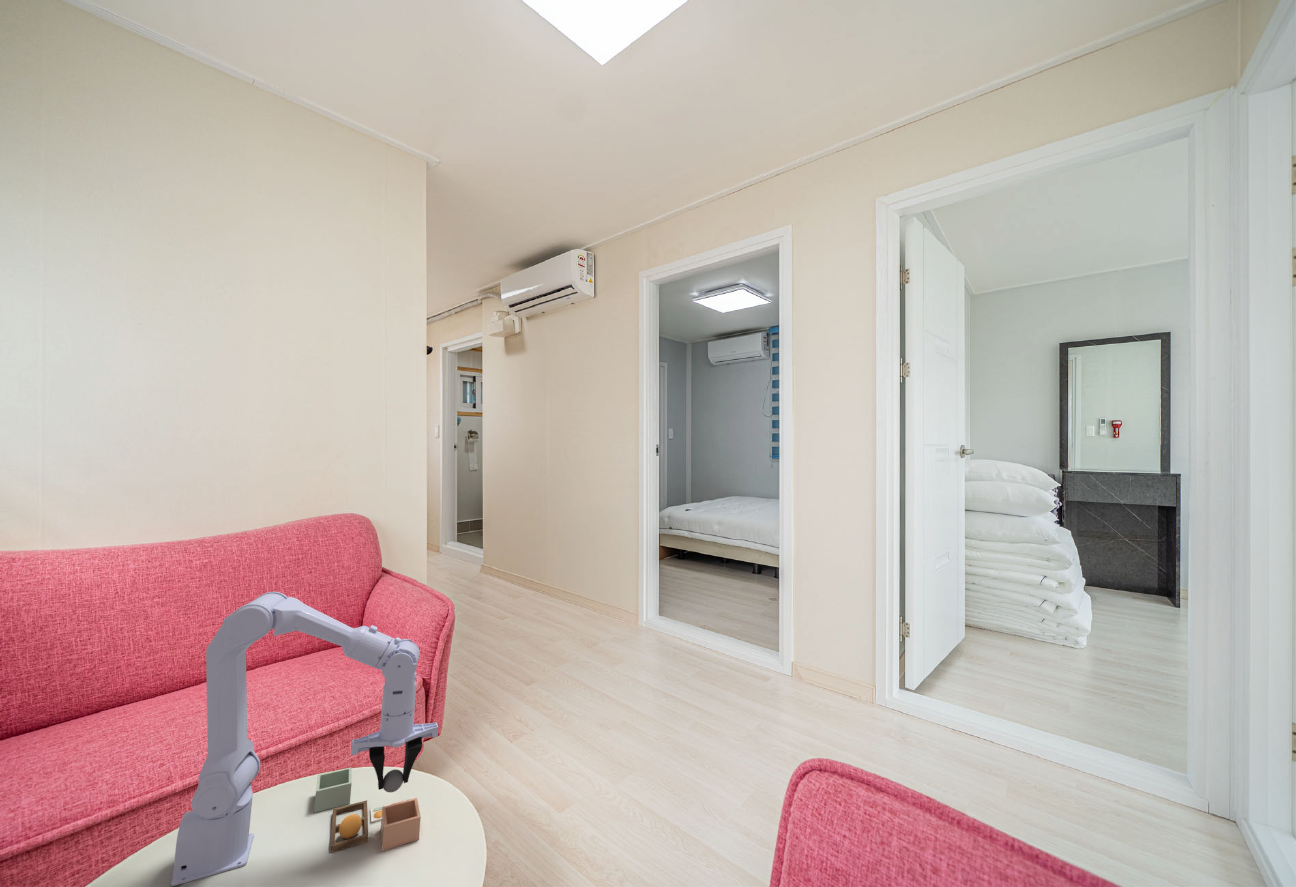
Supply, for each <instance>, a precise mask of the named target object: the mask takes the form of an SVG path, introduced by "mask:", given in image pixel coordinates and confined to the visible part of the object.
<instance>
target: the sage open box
mask: <svg viewBox="0 0 1296 887" xmlns="http://www.w3.org/2000/svg"><path fill="white" fill-rule="evenodd" d="M352 768H353V767H352V766H351V767H347V768H342V769H337V770H333V771H328V772H324V773H319V774H317V779H316V788H315V798H314V809H313V813H314V814H315V813H318V812H323V811H327V810H332V809H335V808H339V807H342V806H346V805H350V804H351V794H352V782H353V780H352V776H353V774H352V773H353V771H352V770H353V769H352Z"/></svg>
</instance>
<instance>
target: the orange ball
mask: <svg viewBox="0 0 1296 887" xmlns="http://www.w3.org/2000/svg"><path fill="white" fill-rule="evenodd" d="M361 818H362V817H360V815H358V814H355V813H352V814H349V815H347V816H345V818H343V820H342V821H341V822H340V823H339V824H340V827H339V832H338V834H339V836H340V837H341V838H342V839H344V840H349V839H352V838H355V836H357V834H358V833H359V832H360V830H361V828H362V826H363V825H362V820H361Z"/></svg>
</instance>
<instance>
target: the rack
mask: <svg viewBox="0 0 1296 887" xmlns="http://www.w3.org/2000/svg"><path fill="white" fill-rule="evenodd" d="M361 809H362V810H363V812H362V813H363V814H362V815H363V817H360V818H361V820H362V825H361V826H363V835H360V836H356V837H352V838H349V839H344V840H341V841H339V842H336V833H339V827H340V824H341V823H337V816H339V815H342V814H345V813H349V812H355V811H357V810H361ZM368 813H369V812H368V800H367V799H366V800H362V801H359V802H355V803H350V804H347V805H343V806H339V807H335V808H332V814H331V815H332V819H331V834H330V835H331V837H330V851H329V852H330V854H331V853H334V852H338V851H340V850H344V849H347V848H351V847H355V846H358V845H362V844H364V843H368V842H369V836H370V835H369V818H368V816H369V815H368Z"/></svg>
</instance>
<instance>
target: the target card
mask: <svg viewBox="0 0 1296 887" xmlns="http://www.w3.org/2000/svg"><path fill="white" fill-rule="evenodd" d="M403 801H405V800H404V799H403V800H399V801H395V802H391V803H387V804H385V805H380V806H376V807H373V808H370V810H369V812H370V823H371V824H373V823H377V822H381V817H382V807H384V806H388V805H392V804H395V803H399V802H403Z"/></svg>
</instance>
